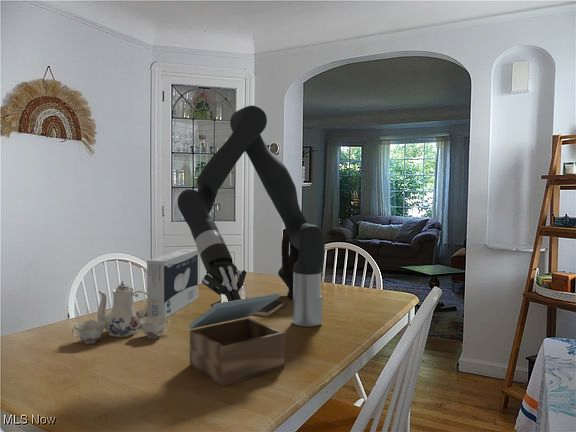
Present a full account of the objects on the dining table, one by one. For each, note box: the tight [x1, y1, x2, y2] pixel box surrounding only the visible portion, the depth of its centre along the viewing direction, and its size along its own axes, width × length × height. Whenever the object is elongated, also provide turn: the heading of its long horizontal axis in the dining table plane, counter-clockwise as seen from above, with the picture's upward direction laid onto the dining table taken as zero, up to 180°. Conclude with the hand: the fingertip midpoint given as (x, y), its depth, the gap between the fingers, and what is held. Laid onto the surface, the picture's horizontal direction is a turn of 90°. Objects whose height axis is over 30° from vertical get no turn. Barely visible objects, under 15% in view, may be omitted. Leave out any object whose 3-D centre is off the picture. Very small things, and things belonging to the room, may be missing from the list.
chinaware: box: [71, 280, 173, 345], centre depth 137 cm, size 28×17×17 cm, turn 114°
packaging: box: [146, 248, 199, 318], centre depth 169 cm, size 30×6×20 cm, turn 168°
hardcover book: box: [209, 299, 285, 317], centre depth 171 cm, size 16×23×2 cm
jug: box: [277, 227, 323, 299], centre depth 188 cm, size 21×18×30 cm
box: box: [189, 317, 286, 387], centre depth 115 cm, size 16×18×9 cm
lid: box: [188, 292, 280, 330], centre depth 115 cm, size 16×18×1 cm
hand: (237, 305), depth 114 cm, fingers closed
